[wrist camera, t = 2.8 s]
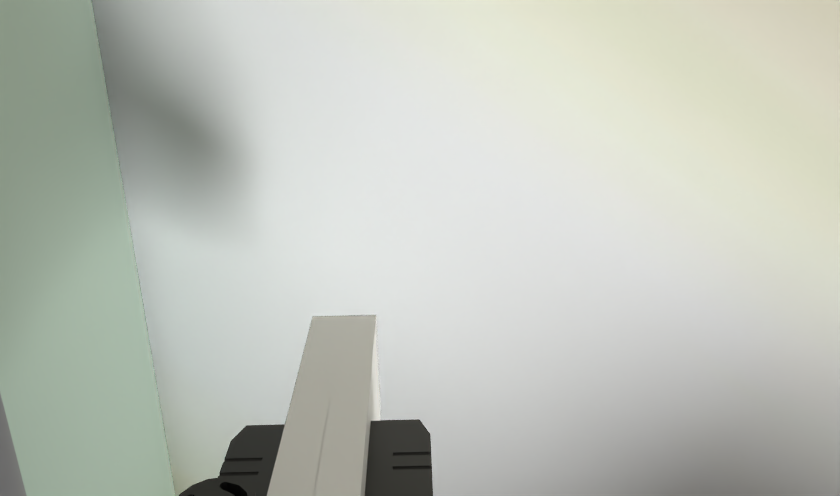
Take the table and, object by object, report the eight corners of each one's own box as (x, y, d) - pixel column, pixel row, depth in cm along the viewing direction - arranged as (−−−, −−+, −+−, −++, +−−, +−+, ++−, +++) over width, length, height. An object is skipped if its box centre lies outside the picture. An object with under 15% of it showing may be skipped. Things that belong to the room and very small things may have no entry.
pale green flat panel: (8, -140, 19) (-329, -210, 10) (75, -142, 19) (-205, -212, 10) (143, 550, 26) (16, 841, 18) (190, 549, 26) (86, 839, 18)
